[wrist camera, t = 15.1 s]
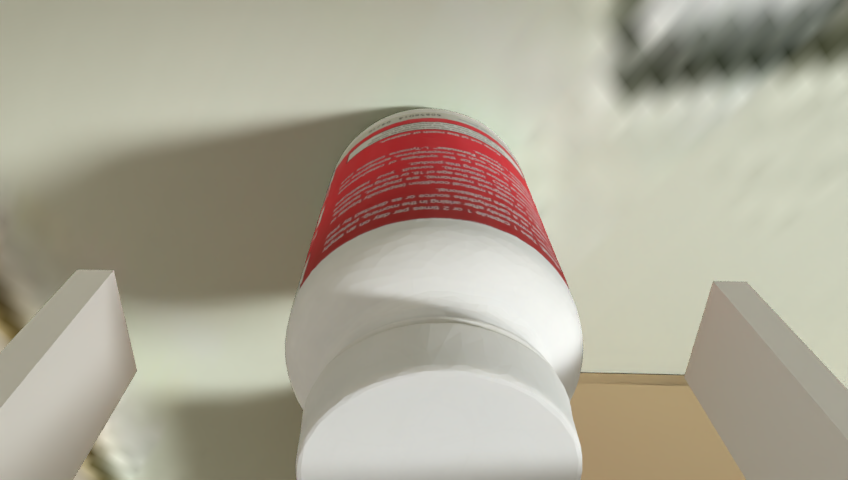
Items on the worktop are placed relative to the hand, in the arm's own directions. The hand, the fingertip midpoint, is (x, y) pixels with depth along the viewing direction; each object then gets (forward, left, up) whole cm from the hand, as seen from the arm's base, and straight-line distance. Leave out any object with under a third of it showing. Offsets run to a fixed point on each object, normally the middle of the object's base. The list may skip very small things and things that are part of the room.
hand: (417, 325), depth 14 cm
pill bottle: (0, 0, -7) cm, 7 cm away
